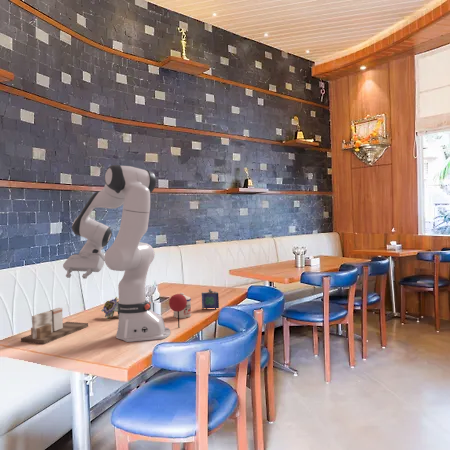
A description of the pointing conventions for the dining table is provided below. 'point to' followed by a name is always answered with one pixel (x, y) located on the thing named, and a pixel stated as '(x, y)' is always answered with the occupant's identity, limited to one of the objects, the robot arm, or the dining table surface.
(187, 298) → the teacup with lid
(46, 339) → the board
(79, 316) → the dining table surface
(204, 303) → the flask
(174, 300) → the lollipop
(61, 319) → the white striped box
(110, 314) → the passion flower
